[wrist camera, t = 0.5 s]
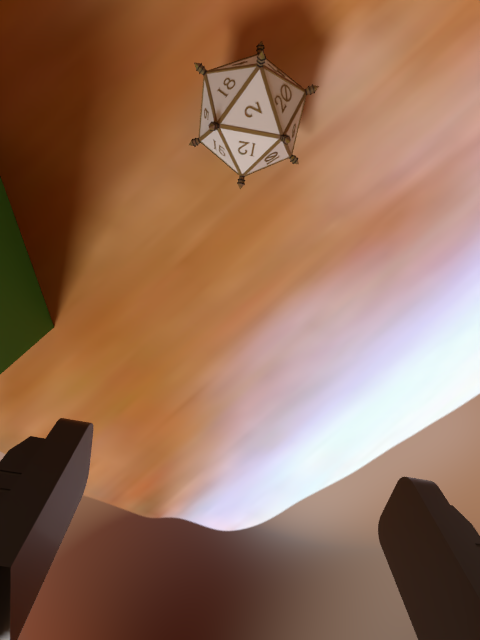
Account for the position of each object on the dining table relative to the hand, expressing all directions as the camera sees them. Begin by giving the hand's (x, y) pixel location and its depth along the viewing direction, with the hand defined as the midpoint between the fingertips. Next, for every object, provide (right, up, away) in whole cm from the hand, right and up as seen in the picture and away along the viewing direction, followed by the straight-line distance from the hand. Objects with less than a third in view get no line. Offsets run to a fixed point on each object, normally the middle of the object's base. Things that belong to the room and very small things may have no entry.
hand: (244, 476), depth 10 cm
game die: (+1, +20, +21) cm, 29 cm away
